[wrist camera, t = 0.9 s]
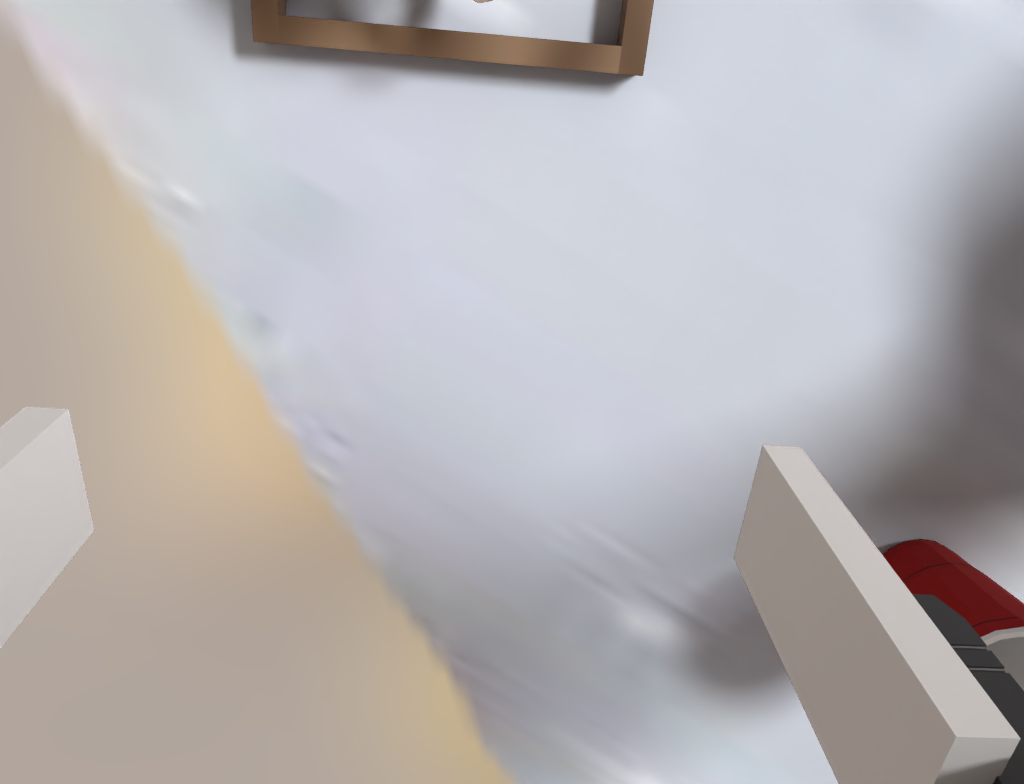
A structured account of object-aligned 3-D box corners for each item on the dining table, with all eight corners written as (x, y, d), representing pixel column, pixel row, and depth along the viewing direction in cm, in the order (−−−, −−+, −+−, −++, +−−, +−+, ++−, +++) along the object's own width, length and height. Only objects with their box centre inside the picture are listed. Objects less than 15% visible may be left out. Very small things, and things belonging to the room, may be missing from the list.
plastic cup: (936, 476, 48) (1066, 605, 37) (1017, 567, 51) (1157, 709, 41) (799, 572, 51) (882, 717, 40) (884, 652, 55) (982, 804, 44)
